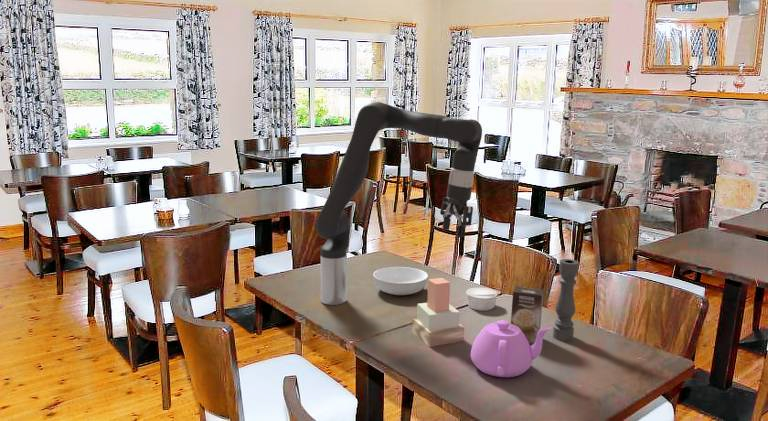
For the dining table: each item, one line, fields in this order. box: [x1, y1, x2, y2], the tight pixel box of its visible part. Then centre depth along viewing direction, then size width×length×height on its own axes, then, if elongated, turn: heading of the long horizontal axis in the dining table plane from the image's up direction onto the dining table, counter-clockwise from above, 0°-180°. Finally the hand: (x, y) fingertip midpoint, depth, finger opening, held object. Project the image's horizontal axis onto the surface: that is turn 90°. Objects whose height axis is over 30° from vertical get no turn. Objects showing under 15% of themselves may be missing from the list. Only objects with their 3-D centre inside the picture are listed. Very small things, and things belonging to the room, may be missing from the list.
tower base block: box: [411, 317, 465, 348], centre depth 197 cm, size 12×12×5 cm
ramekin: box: [465, 287, 498, 312], centre depth 223 cm, size 11×11×5 cm
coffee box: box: [510, 285, 544, 344], centre depth 195 cm, size 9×6×16 cm
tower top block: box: [416, 302, 460, 330], centre depth 196 cm, size 10×10×5 cm
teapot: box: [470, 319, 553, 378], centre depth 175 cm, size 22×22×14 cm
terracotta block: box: [426, 277, 451, 312], centre depth 194 cm, size 5×5×9 cm
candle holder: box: [552, 258, 580, 342], centre depth 196 cm, size 6×6×25 cm
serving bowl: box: [372, 266, 429, 296], centre depth 237 cm, size 21×21×7 cm
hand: (452, 233), depth 198 cm, fingers open, 8 cm apart
